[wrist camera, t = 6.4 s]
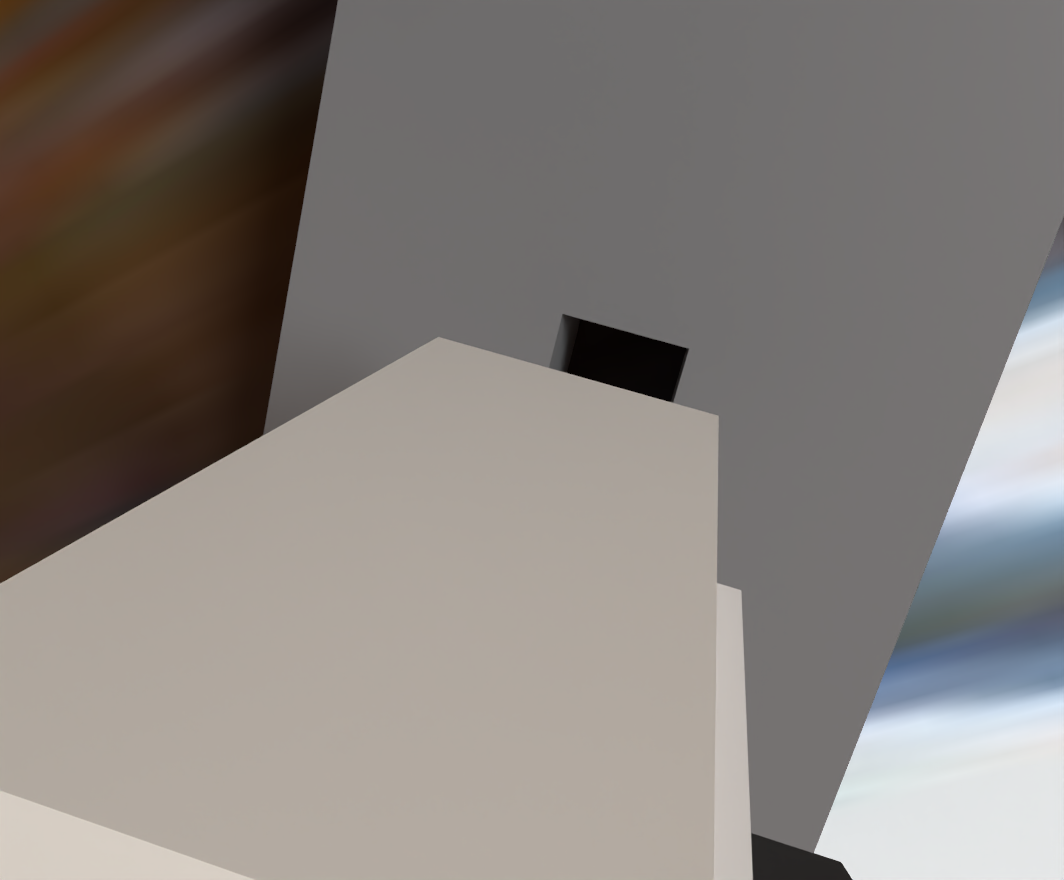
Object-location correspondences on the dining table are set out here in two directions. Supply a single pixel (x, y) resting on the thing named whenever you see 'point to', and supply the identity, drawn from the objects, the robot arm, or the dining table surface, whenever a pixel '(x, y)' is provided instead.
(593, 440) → the plug
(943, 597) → the dining table surface
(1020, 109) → the header
